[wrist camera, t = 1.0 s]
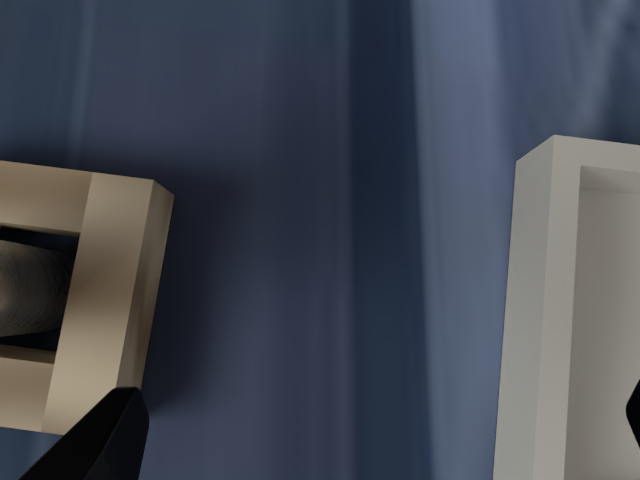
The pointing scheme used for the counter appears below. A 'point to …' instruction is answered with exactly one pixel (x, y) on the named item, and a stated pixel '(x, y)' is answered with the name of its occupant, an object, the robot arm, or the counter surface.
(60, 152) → the counter surface
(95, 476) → the robot arm
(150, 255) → the block
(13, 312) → the metal pin
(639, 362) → the tray
